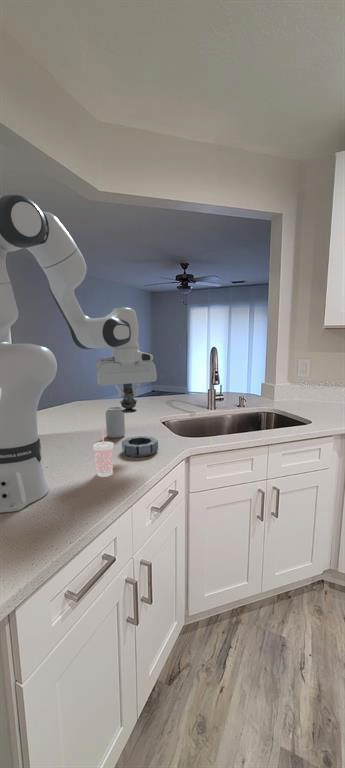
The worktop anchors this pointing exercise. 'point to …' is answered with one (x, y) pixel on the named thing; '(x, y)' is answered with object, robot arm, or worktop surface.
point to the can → (115, 422)
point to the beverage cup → (104, 457)
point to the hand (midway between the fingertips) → (128, 396)
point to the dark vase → (128, 399)
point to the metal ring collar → (139, 446)
